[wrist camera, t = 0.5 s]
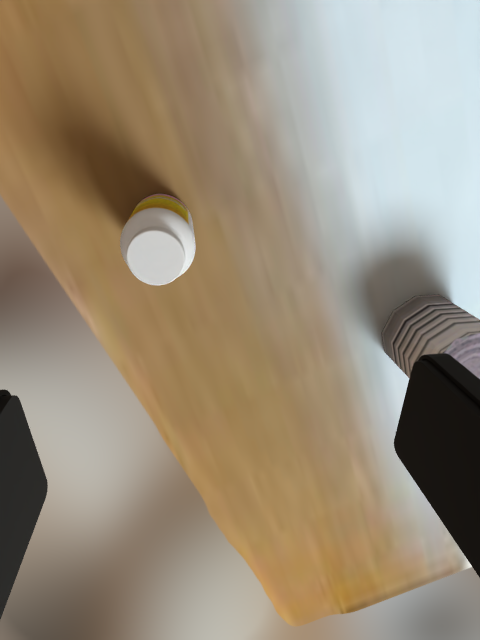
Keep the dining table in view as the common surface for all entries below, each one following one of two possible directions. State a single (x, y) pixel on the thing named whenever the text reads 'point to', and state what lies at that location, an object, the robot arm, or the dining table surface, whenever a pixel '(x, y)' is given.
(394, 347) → the can
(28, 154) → the dining table surface
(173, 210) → the supplement bottle
